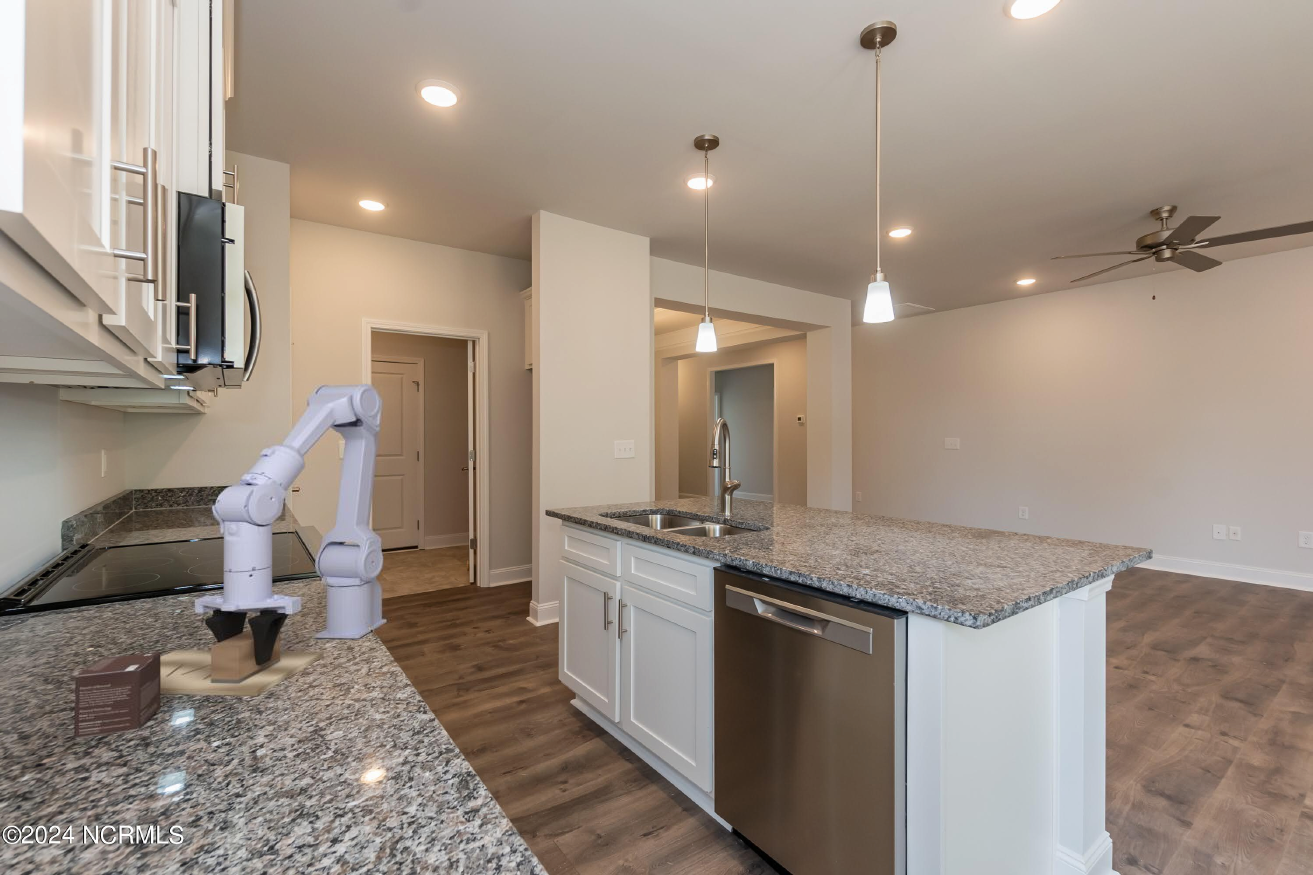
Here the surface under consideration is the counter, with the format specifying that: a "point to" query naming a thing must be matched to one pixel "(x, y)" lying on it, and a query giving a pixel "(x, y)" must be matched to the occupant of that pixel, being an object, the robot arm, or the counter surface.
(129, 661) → the box
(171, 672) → the board
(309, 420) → the robot arm
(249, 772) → the counter surface
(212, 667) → the sanding block
